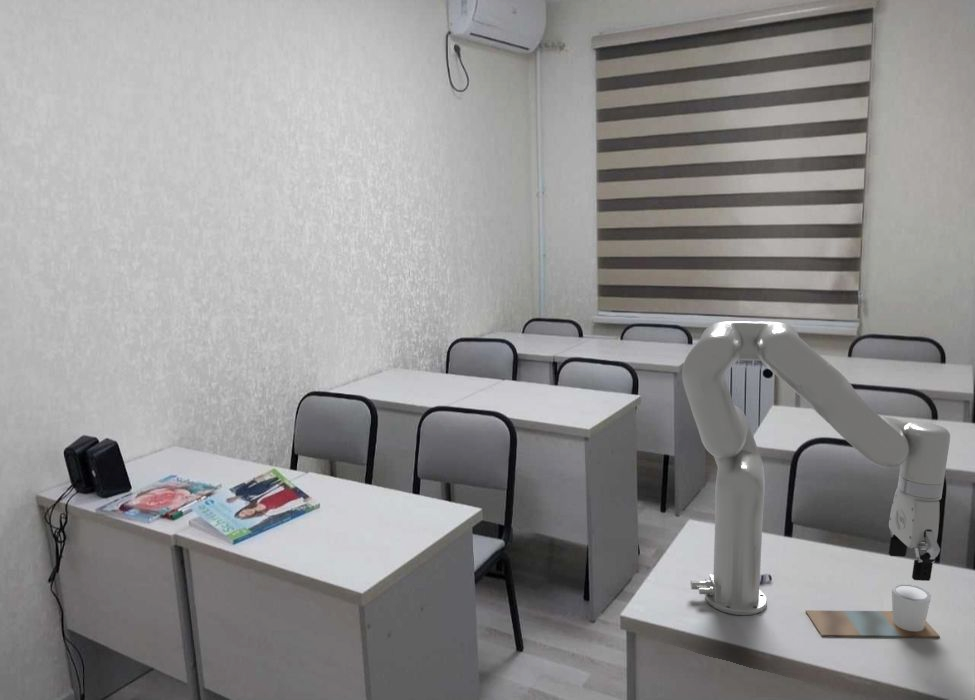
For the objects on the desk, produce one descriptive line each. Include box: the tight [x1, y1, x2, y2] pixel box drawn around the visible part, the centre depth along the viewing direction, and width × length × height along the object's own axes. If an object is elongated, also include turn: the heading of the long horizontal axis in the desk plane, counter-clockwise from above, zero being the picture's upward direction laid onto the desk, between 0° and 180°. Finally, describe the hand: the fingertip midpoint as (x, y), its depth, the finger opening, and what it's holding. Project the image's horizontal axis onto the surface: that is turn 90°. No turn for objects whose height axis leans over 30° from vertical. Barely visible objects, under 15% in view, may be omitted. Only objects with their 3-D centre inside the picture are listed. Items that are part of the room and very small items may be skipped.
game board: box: [805, 609, 941, 639], centre depth 152 cm, size 22×9×1 cm, turn 86°
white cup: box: [891, 583, 932, 632], centre depth 150 cm, size 7×7×7 cm
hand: (908, 567), depth 149 cm, fingers open, 9 cm apart
